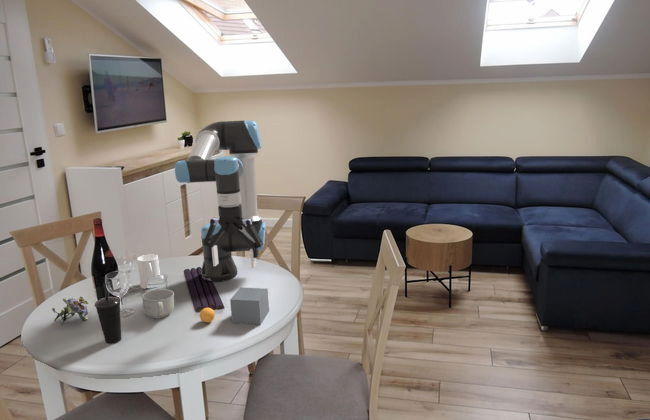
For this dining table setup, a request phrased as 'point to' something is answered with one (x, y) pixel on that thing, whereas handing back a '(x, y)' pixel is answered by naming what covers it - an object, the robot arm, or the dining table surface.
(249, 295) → the grey matte cube
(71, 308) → the passion flower
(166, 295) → the teacup
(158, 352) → the dining table surface
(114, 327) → the drinking cup
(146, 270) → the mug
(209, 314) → the ball
